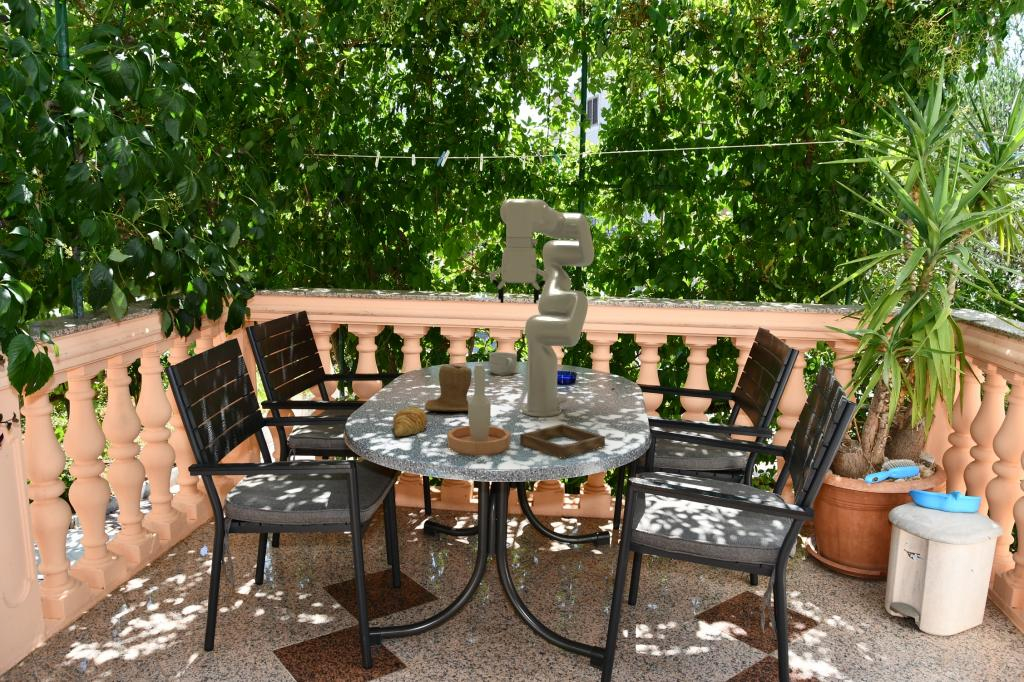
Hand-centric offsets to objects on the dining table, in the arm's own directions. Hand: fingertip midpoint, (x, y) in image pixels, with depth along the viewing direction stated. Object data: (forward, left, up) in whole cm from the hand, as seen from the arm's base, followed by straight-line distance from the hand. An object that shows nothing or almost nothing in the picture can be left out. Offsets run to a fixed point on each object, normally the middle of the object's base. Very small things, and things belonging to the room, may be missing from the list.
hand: (518, 302), depth 252 cm
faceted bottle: (+19, +5, -38) cm, 42 cm away
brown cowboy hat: (+1, -31, -39) cm, 49 cm away
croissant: (+24, -21, -39) cm, 50 cm away
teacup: (-48, -60, -38) cm, 86 cm away
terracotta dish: (+19, +5, -38) cm, 43 cm away
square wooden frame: (+1, +20, -38) cm, 43 cm away
